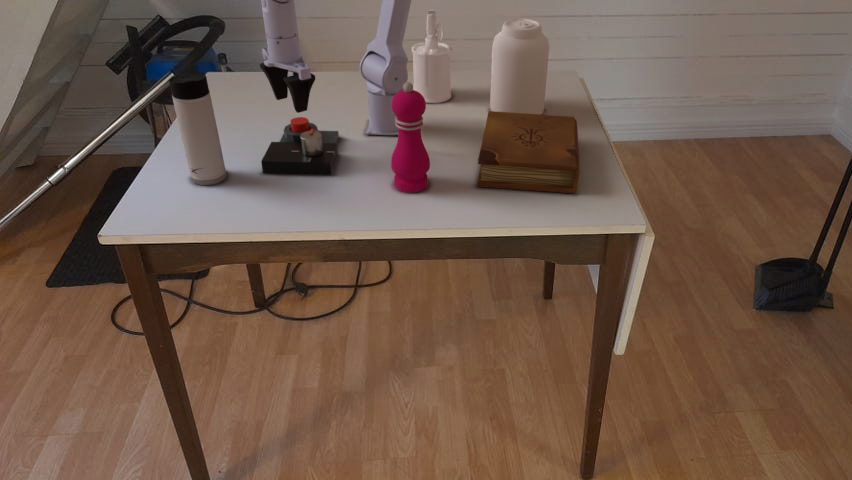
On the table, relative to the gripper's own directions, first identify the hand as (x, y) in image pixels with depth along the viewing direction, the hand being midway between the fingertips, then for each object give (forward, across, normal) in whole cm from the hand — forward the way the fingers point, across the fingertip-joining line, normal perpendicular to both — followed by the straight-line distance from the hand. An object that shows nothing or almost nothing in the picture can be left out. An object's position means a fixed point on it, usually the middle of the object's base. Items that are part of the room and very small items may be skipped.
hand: (291, 104), depth 136 cm
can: (+10, +12, +50) cm, 52 cm away
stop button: (+7, -3, +3) cm, 8 cm away
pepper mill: (+10, +25, +10) cm, 29 cm away
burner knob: (+8, +6, 0) cm, 10 cm away
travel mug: (+10, -1, -18) cm, 21 cm away
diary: (+10, +32, +34) cm, 48 cm away
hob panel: (+10, +5, -2) cm, 11 cm away
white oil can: (+10, -7, +40) cm, 41 cm away
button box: (+10, -2, +4) cm, 11 cm away
